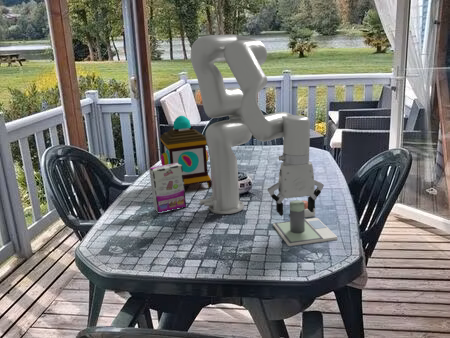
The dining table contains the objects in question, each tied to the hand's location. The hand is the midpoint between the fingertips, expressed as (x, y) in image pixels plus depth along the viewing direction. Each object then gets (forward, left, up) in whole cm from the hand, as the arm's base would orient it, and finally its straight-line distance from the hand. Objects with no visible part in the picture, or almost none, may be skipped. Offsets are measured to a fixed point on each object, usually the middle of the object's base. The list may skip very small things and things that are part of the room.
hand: (295, 212), depth 135 cm
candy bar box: (-37, +33, -7) cm, 50 cm away
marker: (0, -1, -6) cm, 6 cm away
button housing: (+7, +13, -7) cm, 17 cm away
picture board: (+2, -1, -7) cm, 7 cm away
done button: (+7, +13, -5) cm, 16 cm away
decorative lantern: (-28, +59, -7) cm, 66 cm away
